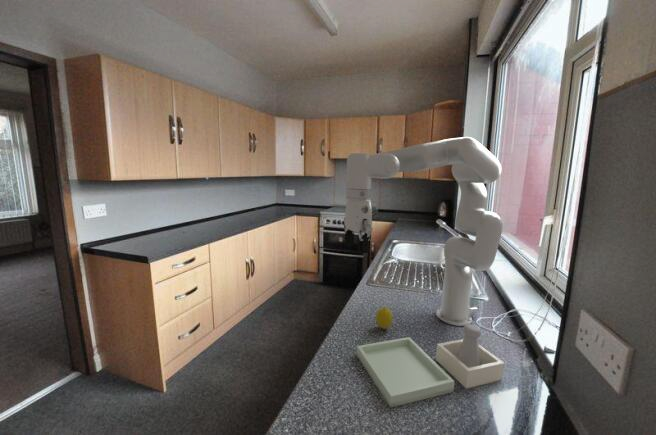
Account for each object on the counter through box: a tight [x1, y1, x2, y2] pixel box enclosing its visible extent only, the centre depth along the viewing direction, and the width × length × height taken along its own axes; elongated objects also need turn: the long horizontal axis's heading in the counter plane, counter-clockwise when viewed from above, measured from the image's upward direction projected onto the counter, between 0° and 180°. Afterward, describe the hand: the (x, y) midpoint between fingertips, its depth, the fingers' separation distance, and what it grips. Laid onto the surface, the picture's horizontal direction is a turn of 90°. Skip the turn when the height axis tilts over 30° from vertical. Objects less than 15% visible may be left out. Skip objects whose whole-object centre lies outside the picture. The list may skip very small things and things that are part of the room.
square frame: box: [435, 338, 505, 389], centre depth 81 cm, size 12×12×5 cm
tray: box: [356, 336, 456, 408], centre depth 79 cm, size 18×20×3 cm
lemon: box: [375, 307, 393, 330], centre depth 100 cm, size 6×6×8 cm
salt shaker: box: [457, 323, 482, 368], centre depth 80 cm, size 6×6×13 cm
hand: (355, 249), depth 90 cm, fingers open, 9 cm apart
